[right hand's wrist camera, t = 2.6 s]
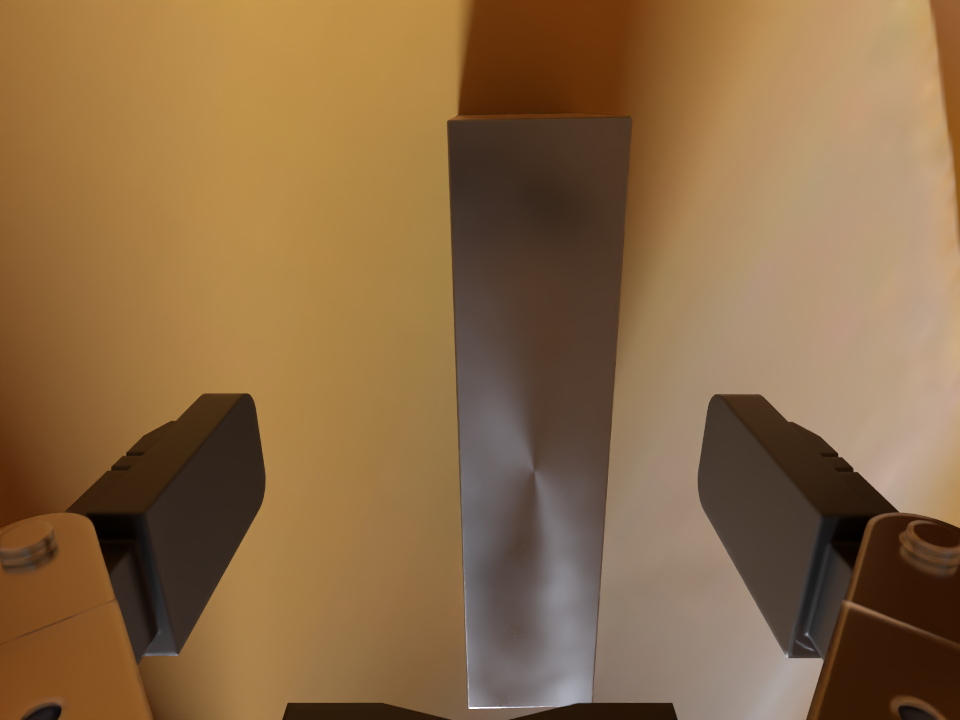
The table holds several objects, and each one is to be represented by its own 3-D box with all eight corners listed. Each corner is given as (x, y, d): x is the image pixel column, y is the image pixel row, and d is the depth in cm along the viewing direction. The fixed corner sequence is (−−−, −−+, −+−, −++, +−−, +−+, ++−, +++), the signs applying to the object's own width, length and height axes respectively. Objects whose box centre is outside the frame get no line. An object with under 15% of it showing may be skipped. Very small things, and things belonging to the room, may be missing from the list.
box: (456, 115, 30) (446, 119, 19) (575, 113, 30) (633, 116, 19) (469, 543, 40) (467, 709, 29) (559, 541, 40) (592, 706, 29)
